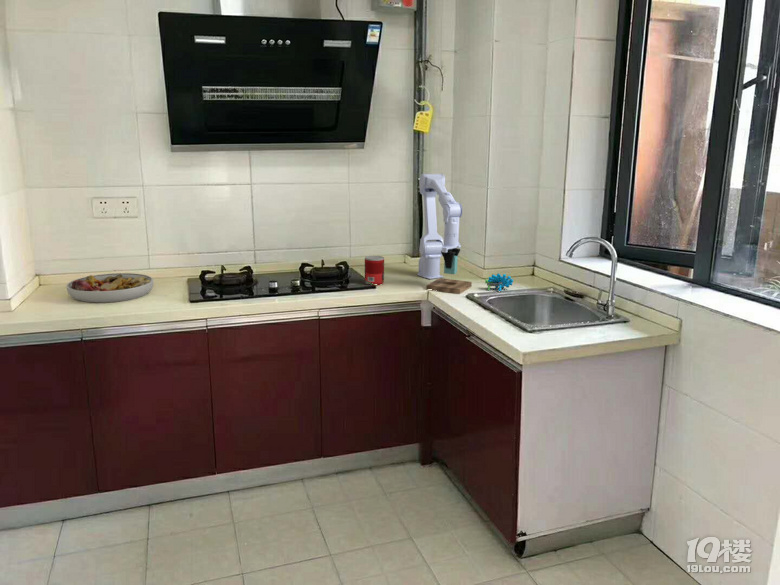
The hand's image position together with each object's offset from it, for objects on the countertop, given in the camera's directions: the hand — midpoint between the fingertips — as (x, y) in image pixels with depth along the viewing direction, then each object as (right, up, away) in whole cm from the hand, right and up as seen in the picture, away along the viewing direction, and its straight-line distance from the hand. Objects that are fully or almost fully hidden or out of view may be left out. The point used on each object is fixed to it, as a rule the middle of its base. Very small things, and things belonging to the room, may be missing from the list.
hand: (450, 267), depth 258 cm
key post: (0, -2, +1) cm, 2 cm away
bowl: (-129, -11, -15) cm, 130 cm away
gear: (+20, -9, +1) cm, 22 cm away
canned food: (-31, -7, +8) cm, 32 cm away
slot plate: (0, -8, +2) cm, 9 cm away
